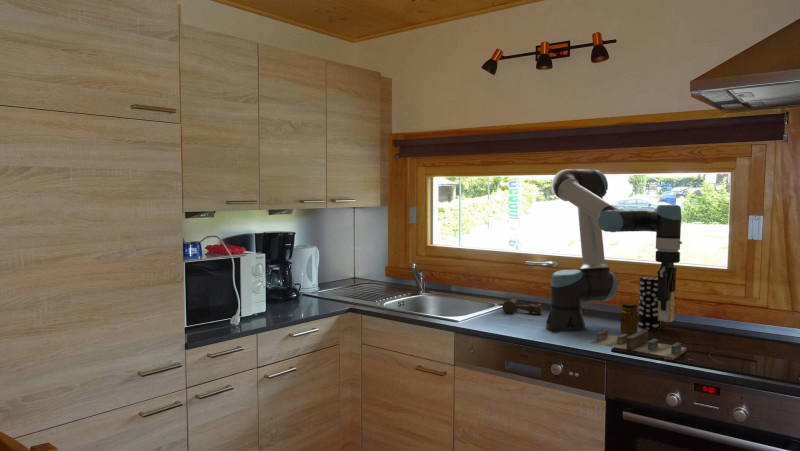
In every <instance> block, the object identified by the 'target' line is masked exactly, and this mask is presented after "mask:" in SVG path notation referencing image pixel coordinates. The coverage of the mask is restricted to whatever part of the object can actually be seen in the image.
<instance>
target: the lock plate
mask: <svg viewBox="0 0 800 451" xmlns="http://www.w3.org/2000/svg"><path fill="white" fill-rule="evenodd" d="M589 343H590V344H595V345H601V346H607V347H611V348H617V349H622V350H629V351H633V352H634V351H635V352H639V353H645V354H651V355H655V356H656V355H657V356H660V359H661V358H664V359H663V360H667V359H668V361H672V360H673V361H674V359H675V360H676V359H677V358H679V357H680V356H681V355H683V354H684V353H686V352H687V350H688V348H687V347H685V346H682V343H681V342H675V343H673V344H667V343H661V342H659V339H658V338H652V339H651V340H649V329H643V328H641V329H640V330H639V331H637V333H635V334H630V335H629V334H624V333H622V334H620V335H614V334H608V330H601V331H599V332H597V333H596V339H594V340H591V341H590V342H589Z"/></svg>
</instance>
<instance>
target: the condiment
mask: <svg viewBox="0 0 800 451" xmlns="http://www.w3.org/2000/svg"><path fill="white" fill-rule="evenodd" d="M621 306H622V307H621V308H622V310H621V311H620V334H621V333H622V334H628V335H633V334H635V333H637V332H638V317H639V311H638V305H637V304H635V303H632V302H631V303H629V302H625V303H622V305H621Z"/></svg>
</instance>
